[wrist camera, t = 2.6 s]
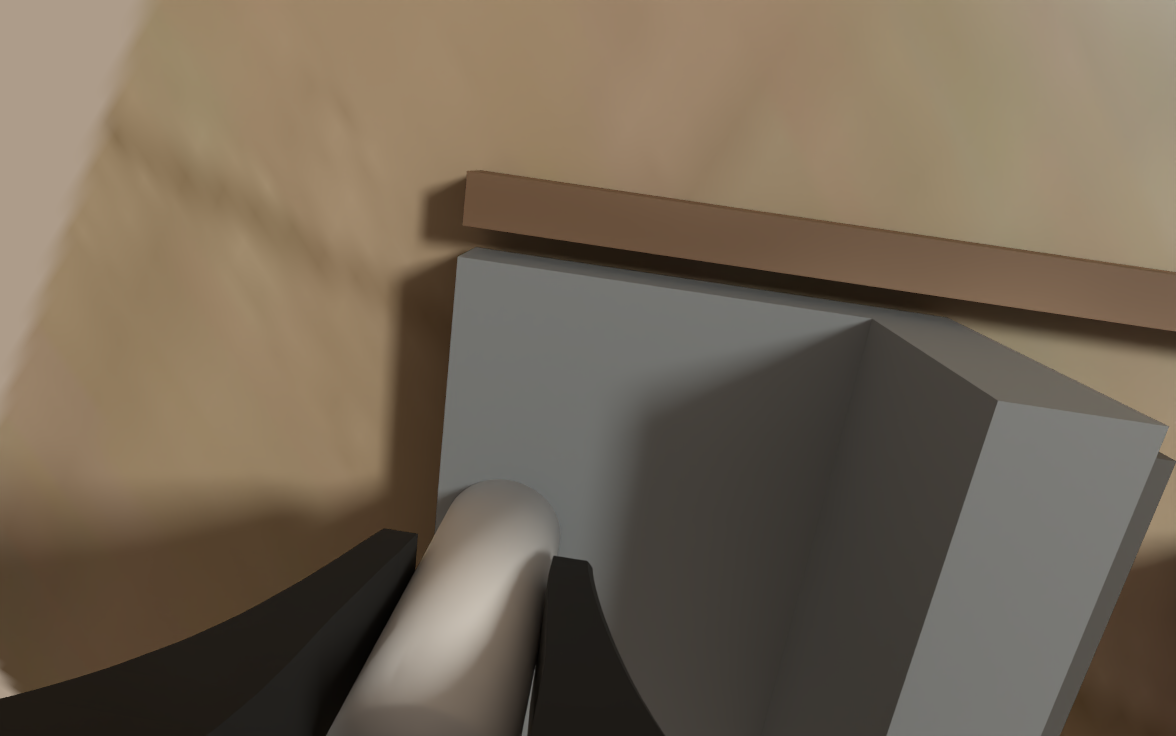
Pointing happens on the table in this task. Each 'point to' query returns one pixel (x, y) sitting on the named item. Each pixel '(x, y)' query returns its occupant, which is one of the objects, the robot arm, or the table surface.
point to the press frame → (822, 249)
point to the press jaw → (760, 513)
